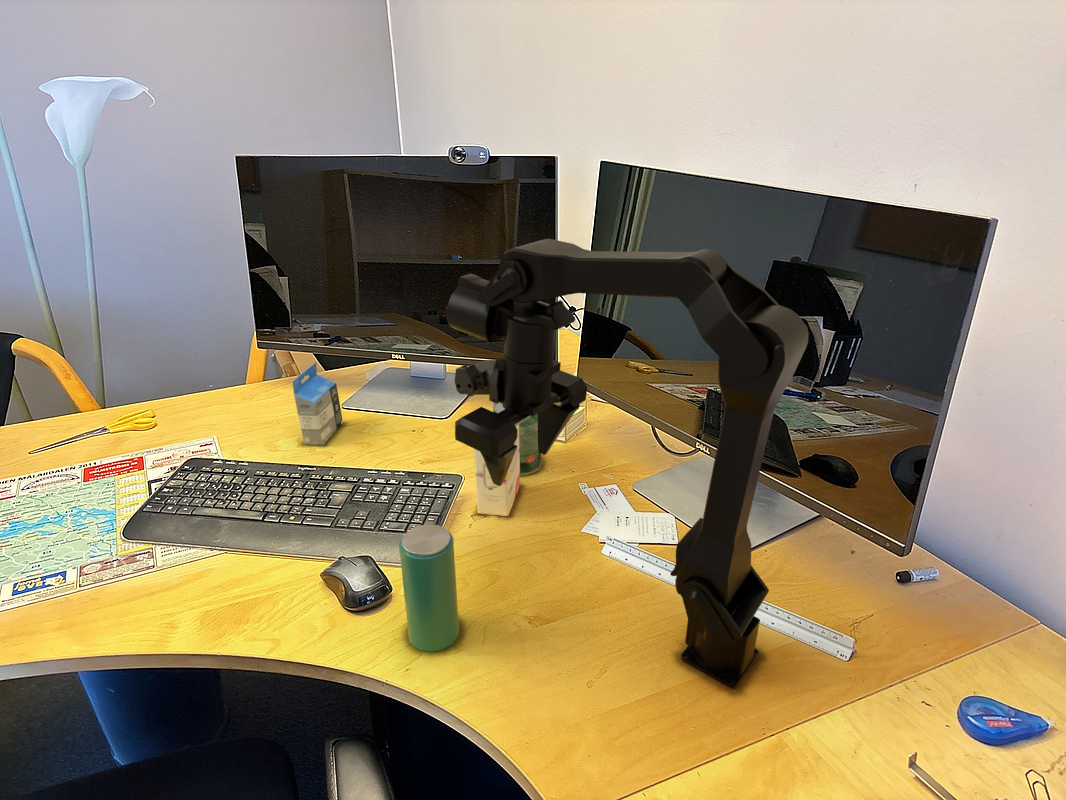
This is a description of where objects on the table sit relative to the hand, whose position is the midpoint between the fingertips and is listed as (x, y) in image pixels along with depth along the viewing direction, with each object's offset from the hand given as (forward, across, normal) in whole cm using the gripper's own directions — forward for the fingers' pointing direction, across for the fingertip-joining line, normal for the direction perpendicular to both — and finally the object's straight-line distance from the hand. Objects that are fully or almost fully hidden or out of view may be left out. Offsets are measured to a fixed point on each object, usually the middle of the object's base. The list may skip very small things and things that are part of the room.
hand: (520, 468), depth 83 cm
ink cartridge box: (+16, -10, -10) cm, 21 cm away
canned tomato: (+16, -20, -15) cm, 30 cm away
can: (+14, +16, +1) cm, 22 cm away
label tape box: (+19, -7, -50) cm, 54 cm away
